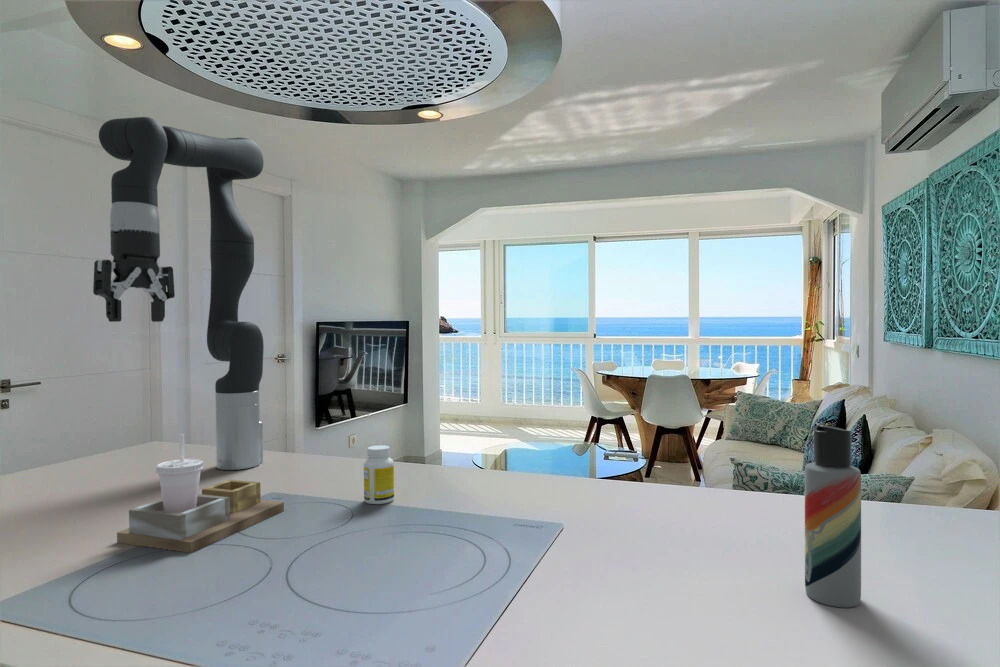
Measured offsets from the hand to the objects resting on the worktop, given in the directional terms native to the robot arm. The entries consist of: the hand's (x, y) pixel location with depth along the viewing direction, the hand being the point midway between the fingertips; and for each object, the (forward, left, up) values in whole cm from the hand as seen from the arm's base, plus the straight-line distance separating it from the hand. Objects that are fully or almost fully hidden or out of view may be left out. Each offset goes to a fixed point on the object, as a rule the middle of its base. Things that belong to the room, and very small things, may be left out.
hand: (136, 321), depth 106 cm
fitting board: (+5, +20, -33) cm, 39 cm away
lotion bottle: (+4, +110, -33) cm, 115 cm away
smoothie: (+10, +20, -32) cm, 39 cm away
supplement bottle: (-15, +40, -33) cm, 54 cm away
